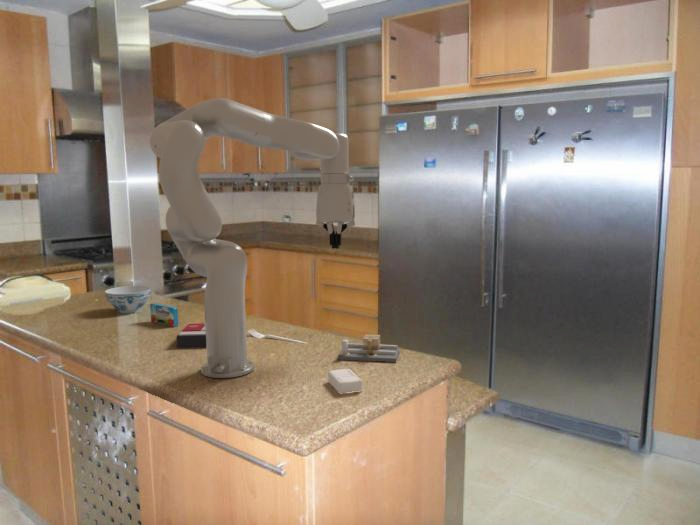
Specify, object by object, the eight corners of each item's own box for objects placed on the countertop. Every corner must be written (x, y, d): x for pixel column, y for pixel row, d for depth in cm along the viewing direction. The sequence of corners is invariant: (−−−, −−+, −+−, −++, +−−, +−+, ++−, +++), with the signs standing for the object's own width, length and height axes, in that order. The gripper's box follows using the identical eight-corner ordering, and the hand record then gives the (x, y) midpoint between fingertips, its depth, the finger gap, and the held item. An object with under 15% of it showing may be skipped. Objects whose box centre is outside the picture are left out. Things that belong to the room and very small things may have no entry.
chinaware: (135, 304, 216) (134, 284, 214) (160, 310, 207) (159, 288, 206) (97, 312, 204) (96, 290, 202) (122, 318, 195) (121, 295, 194)
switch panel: (396, 362, 147) (396, 345, 146) (337, 359, 149) (337, 342, 149) (399, 351, 156) (399, 335, 155) (344, 349, 158) (343, 333, 157)
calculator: (224, 321, 176) (216, 332, 161) (224, 335, 177) (217, 347, 162) (187, 322, 175) (176, 333, 160) (187, 336, 176) (176, 348, 161)
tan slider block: (377, 355, 149) (377, 341, 148) (361, 354, 150) (361, 341, 149) (380, 347, 155) (380, 335, 155) (365, 347, 156) (365, 334, 155)
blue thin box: (178, 326, 184) (177, 307, 183) (174, 327, 183) (173, 308, 182) (155, 321, 191) (153, 302, 190) (151, 322, 190) (150, 303, 189)
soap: (327, 382, 134) (327, 370, 133) (350, 379, 135) (349, 367, 135) (339, 396, 125) (339, 383, 125) (363, 393, 127) (363, 380, 127)
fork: (304, 347, 163) (304, 341, 163) (246, 337, 172) (246, 330, 172) (310, 344, 166) (310, 338, 166) (253, 334, 175) (253, 328, 175)
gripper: (364, 180, 159) (364, 246, 162) (311, 180, 162) (312, 246, 164) (360, 180, 152) (360, 250, 155) (304, 180, 154) (305, 249, 157)
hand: (335, 247), depth 160 cm, fingers closed
